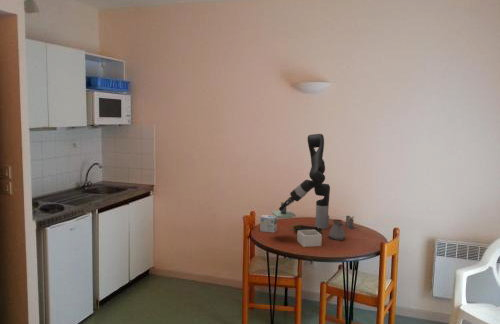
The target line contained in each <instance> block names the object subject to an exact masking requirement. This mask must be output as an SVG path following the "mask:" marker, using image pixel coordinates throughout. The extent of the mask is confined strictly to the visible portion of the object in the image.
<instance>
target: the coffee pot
mask: <svg viewBox="0 0 500 324" xmlns="http://www.w3.org/2000/svg"><path fill="white" fill-rule="evenodd" d="M332 222H333V224H332V226H331V228H330V230H329V232H328V237H329V238H330V239H332V240H335V241H339V242H340V241H343V240H344V239H345V238H346V232H345V230H344V224H343V223H342V222H343V220H342V219H332Z"/></svg>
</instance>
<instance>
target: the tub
mask: <svg viewBox="0 0 500 324" xmlns="http://www.w3.org/2000/svg"><path fill="white" fill-rule="evenodd" d="M296 232H297V237H296V242H297V243H299V245H301V246H302V247H303V248H307V247H322V239H323V238H322V237H323V235H322V234H321V233H320V232H318V230H316V229H299V230H297V231H296Z"/></svg>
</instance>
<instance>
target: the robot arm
mask: <svg viewBox="0 0 500 324" xmlns="http://www.w3.org/2000/svg"><path fill="white" fill-rule="evenodd" d="M307 146H308V150H309V154H310V162H311V163H310V164H311V167H310V171H309V172H308V173H309V178H310V179H311V180H310V179H305V180H303V181H302V182H301V183H300V184H299V185H297V186H296V187H295V188H294V189H293V190H292V191H291V192H290V193H289V194H290V196H289V197H287V199H286V200H285V201H284V202H285V203H284V204H285V205H286V206H285V205H284V204H282V206H281V205H280V207H278V211H281V210H283V209H284V208H285V207H286V208H287V207H288V206H290V205H292V204H293V203H294V202H296V203H297V202H299V201H300V200H301V199H303V198H304V197H305V196H306V195H307V194H308V193H309V192H310V191H311V190H312V189H314V194H315V195H316V196H320V197H323V198H322V199H317V200H316V202H315V224H314V225H315V228H316V227H317V229H319V228H321V229H320V230H326V229H329V228H330V215H329V205H330V192H331V185H330V184H329V183H324V182H325V180H326V175H325V174H324V173H325V172H326V166H325V165H326V164H325V161H324V159H323V156H324V149H325V138H324V134H322V133H316V134H315V133H313V134H309V135H308V136H307ZM316 148H318V149H317V150H316Z"/></svg>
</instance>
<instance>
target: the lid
mask: <svg viewBox="0 0 500 324" xmlns="http://www.w3.org/2000/svg"><path fill="white" fill-rule="evenodd" d="M284 203H285V201H284V202H280V207H281V206H282V204H284ZM284 205H285V204H284ZM285 206H286V205H285ZM271 214H273V216H276V217H277V219H293V218H295V217H297V215H296V214H295V213H294V212H292V211H291V210H287V206H286V207H285V208H284V209H283V210H281V211H280V210H272V211H271Z"/></svg>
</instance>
